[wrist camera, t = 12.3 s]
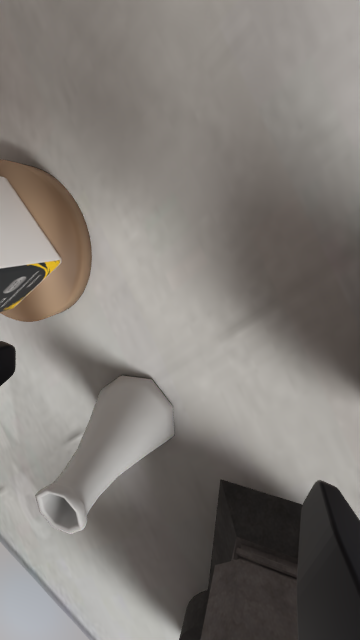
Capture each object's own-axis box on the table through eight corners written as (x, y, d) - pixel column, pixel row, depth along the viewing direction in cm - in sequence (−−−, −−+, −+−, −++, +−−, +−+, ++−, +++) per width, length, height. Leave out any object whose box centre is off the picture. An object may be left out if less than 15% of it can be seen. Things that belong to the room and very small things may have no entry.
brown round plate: (57, 138, 20) (35, 129, 18) (111, 300, 22) (96, 306, 21) (-45, 195, 24) (-71, 193, 23) (10, 324, 27) (-10, 331, 25)
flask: (91, 380, 26) (-11, 463, 17) (158, 366, 23) (79, 456, 14) (121, 446, 27) (42, 556, 18) (188, 441, 24) (133, 567, 15)
